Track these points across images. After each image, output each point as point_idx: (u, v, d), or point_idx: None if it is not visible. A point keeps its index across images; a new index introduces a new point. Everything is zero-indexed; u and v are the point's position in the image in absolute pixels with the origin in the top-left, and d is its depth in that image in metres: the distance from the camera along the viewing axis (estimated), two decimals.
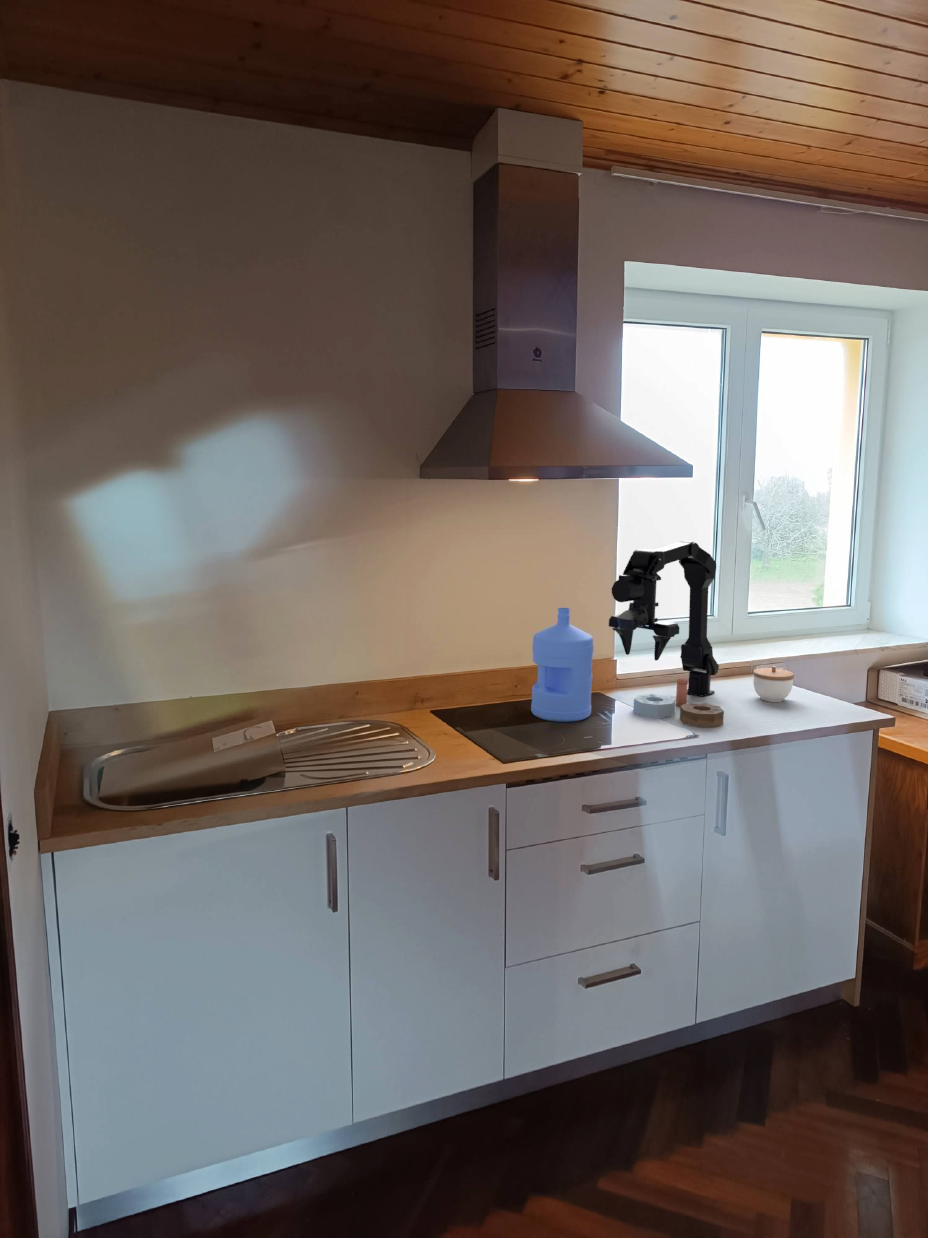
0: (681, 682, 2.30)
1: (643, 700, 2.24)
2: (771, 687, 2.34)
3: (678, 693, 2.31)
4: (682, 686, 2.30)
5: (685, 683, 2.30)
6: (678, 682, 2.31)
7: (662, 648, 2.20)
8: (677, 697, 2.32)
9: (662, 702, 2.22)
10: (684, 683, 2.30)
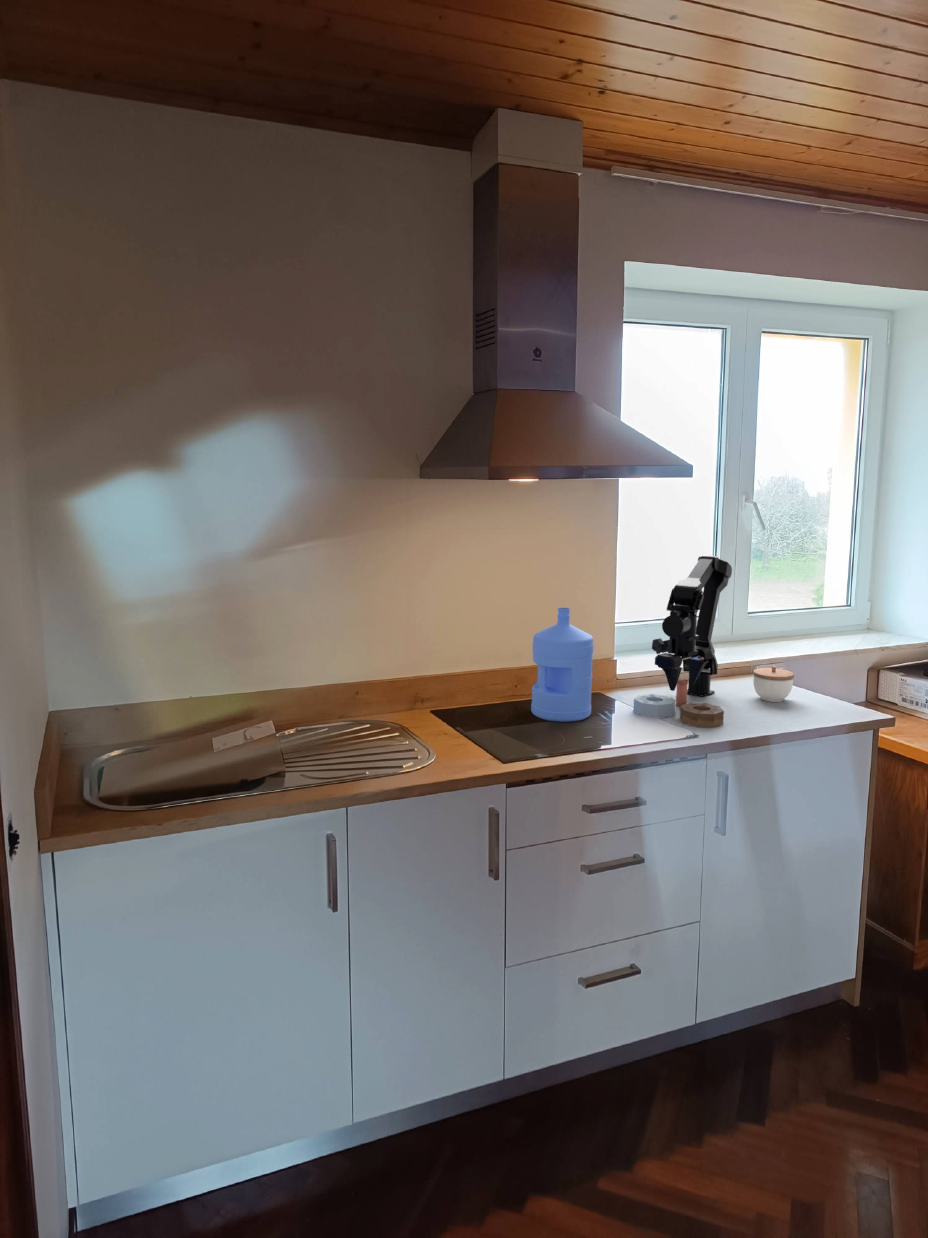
0: (681, 682, 2.30)
1: (643, 700, 2.24)
2: (771, 687, 2.34)
3: (678, 693, 2.31)
4: (682, 686, 2.30)
5: (685, 683, 2.30)
6: (678, 682, 2.31)
7: (673, 680, 2.27)
8: (677, 697, 2.32)
9: (662, 702, 2.22)
10: (684, 683, 2.30)
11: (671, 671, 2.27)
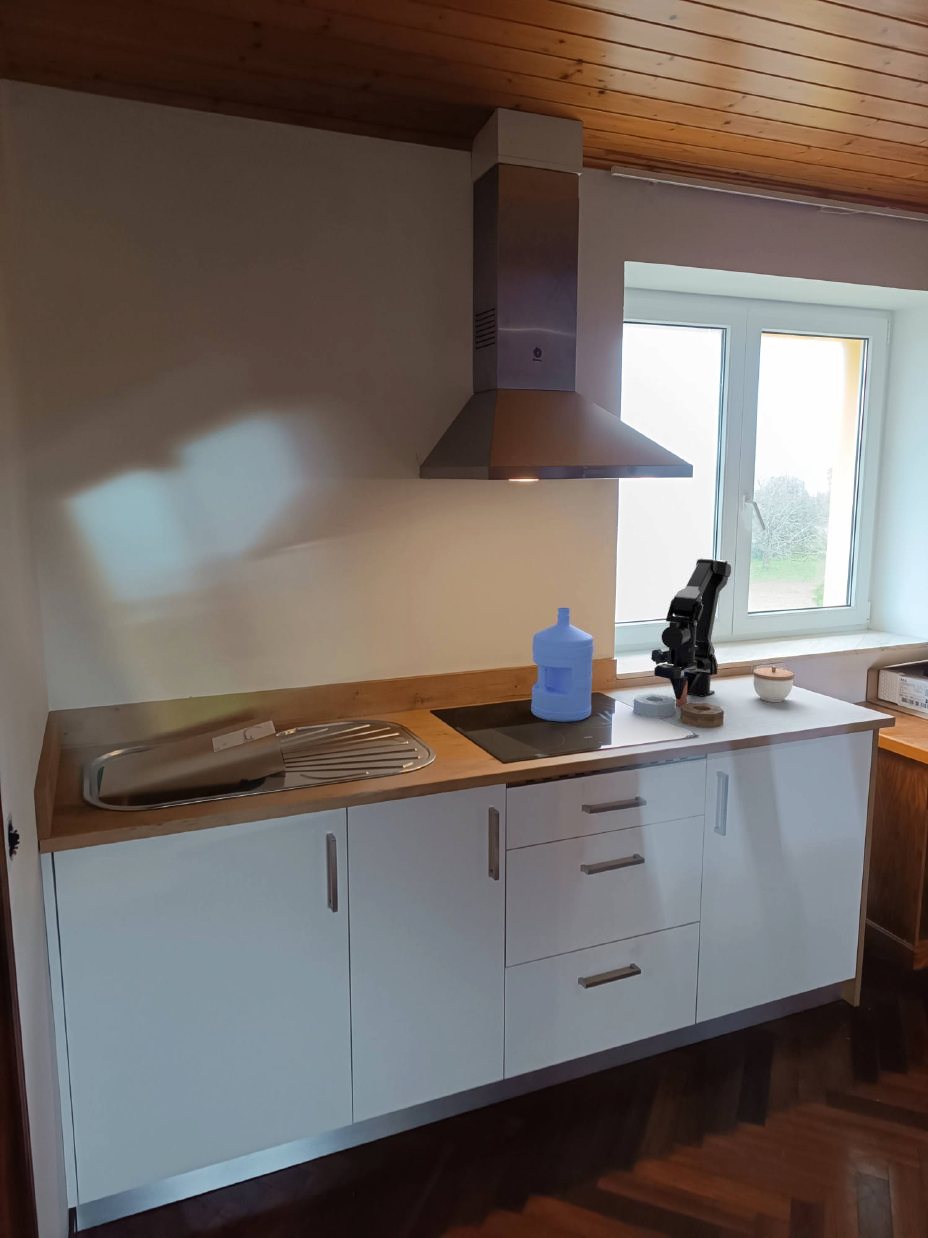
0: None
1: (643, 700, 2.24)
2: (771, 687, 2.34)
3: None
4: None
5: None
6: None
7: (678, 689, 2.29)
8: None
9: (662, 702, 2.22)
10: None
11: (677, 680, 2.29)
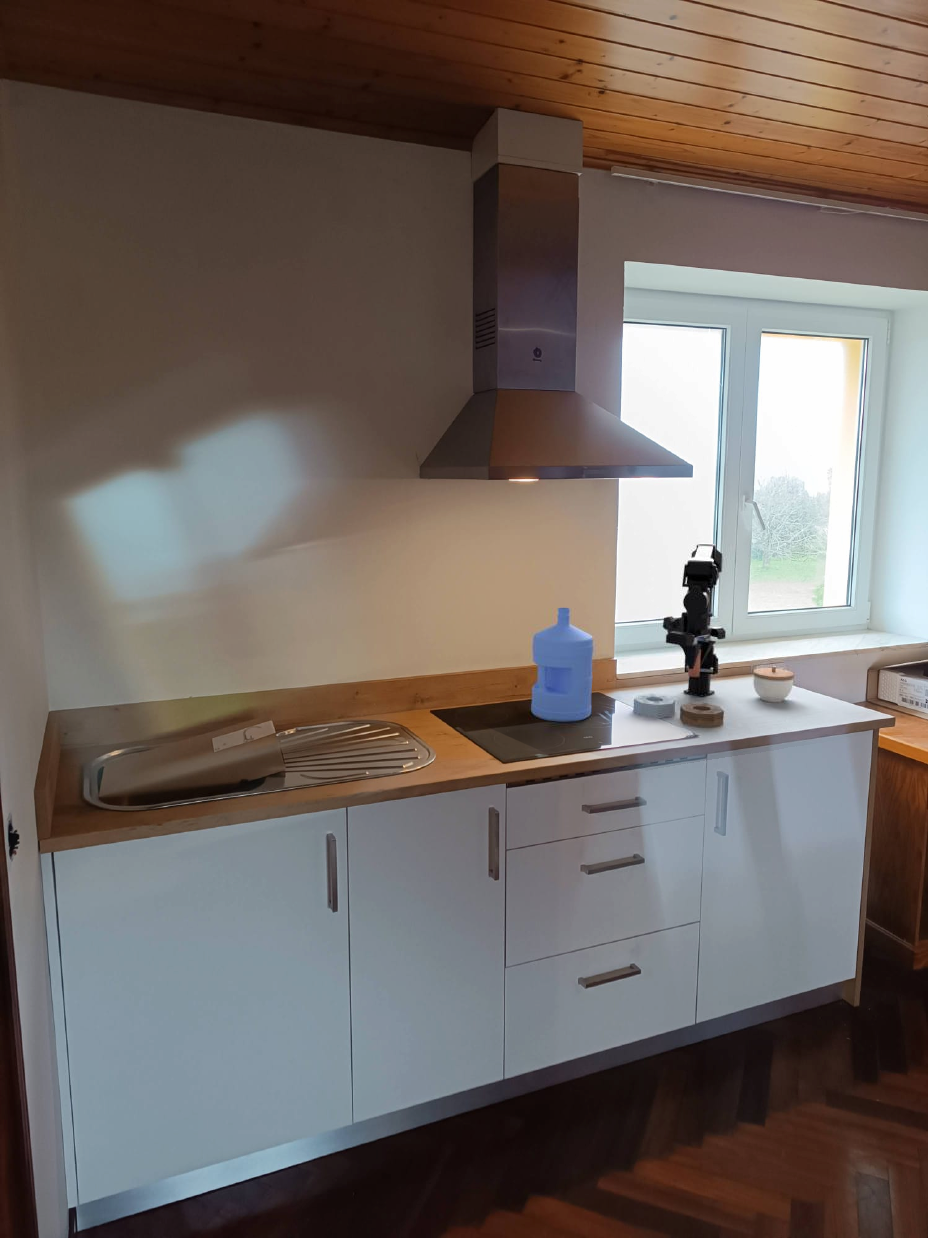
0: None
1: (643, 700, 2.24)
2: (771, 687, 2.34)
3: None
4: None
5: None
6: None
7: (691, 657, 2.19)
8: None
9: (662, 702, 2.22)
10: None
11: (690, 648, 2.19)
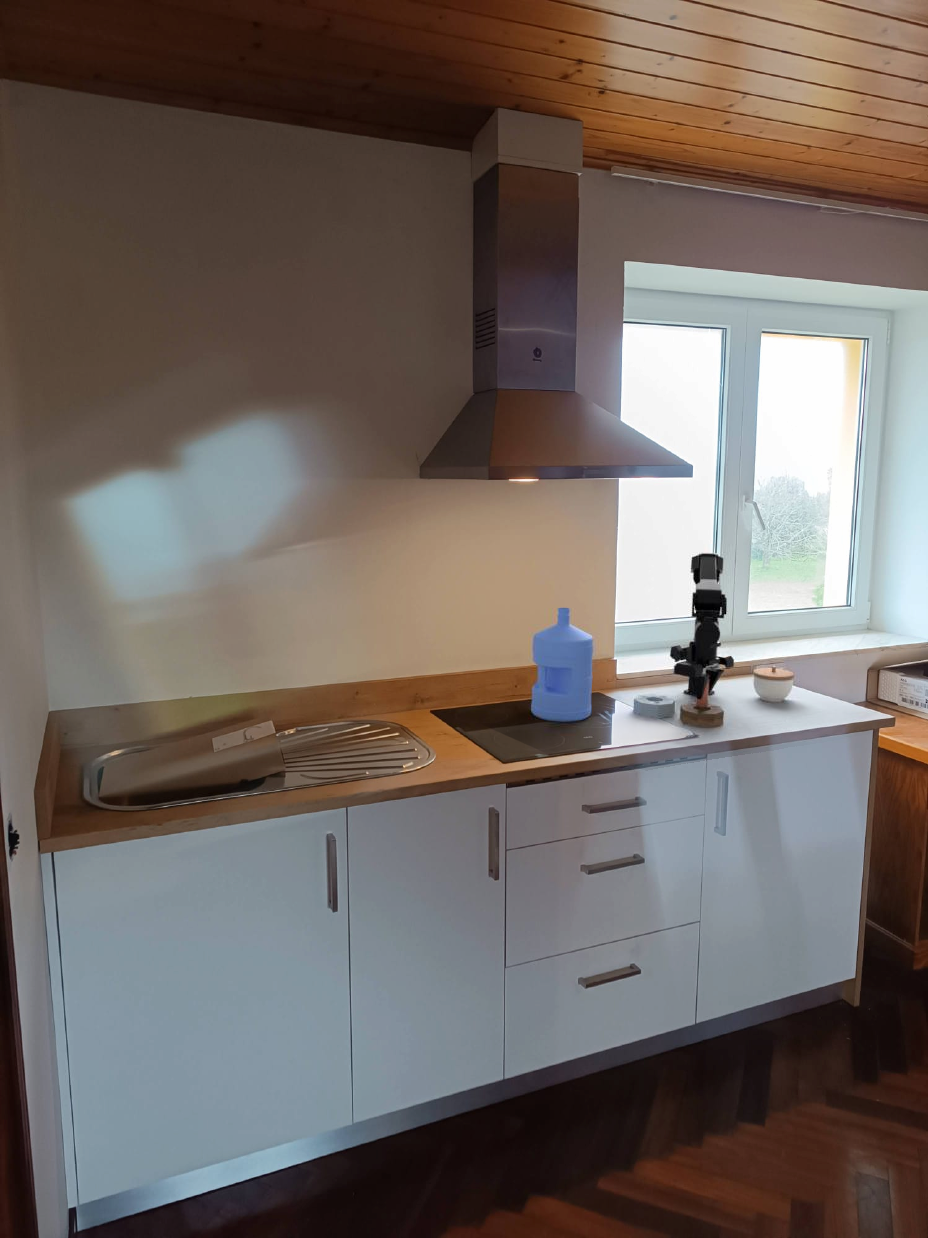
0: None
1: (643, 700, 2.24)
2: (771, 687, 2.34)
3: None
4: None
5: None
6: None
7: (700, 688, 2.14)
8: None
9: (662, 702, 2.22)
10: None
11: (698, 678, 2.14)
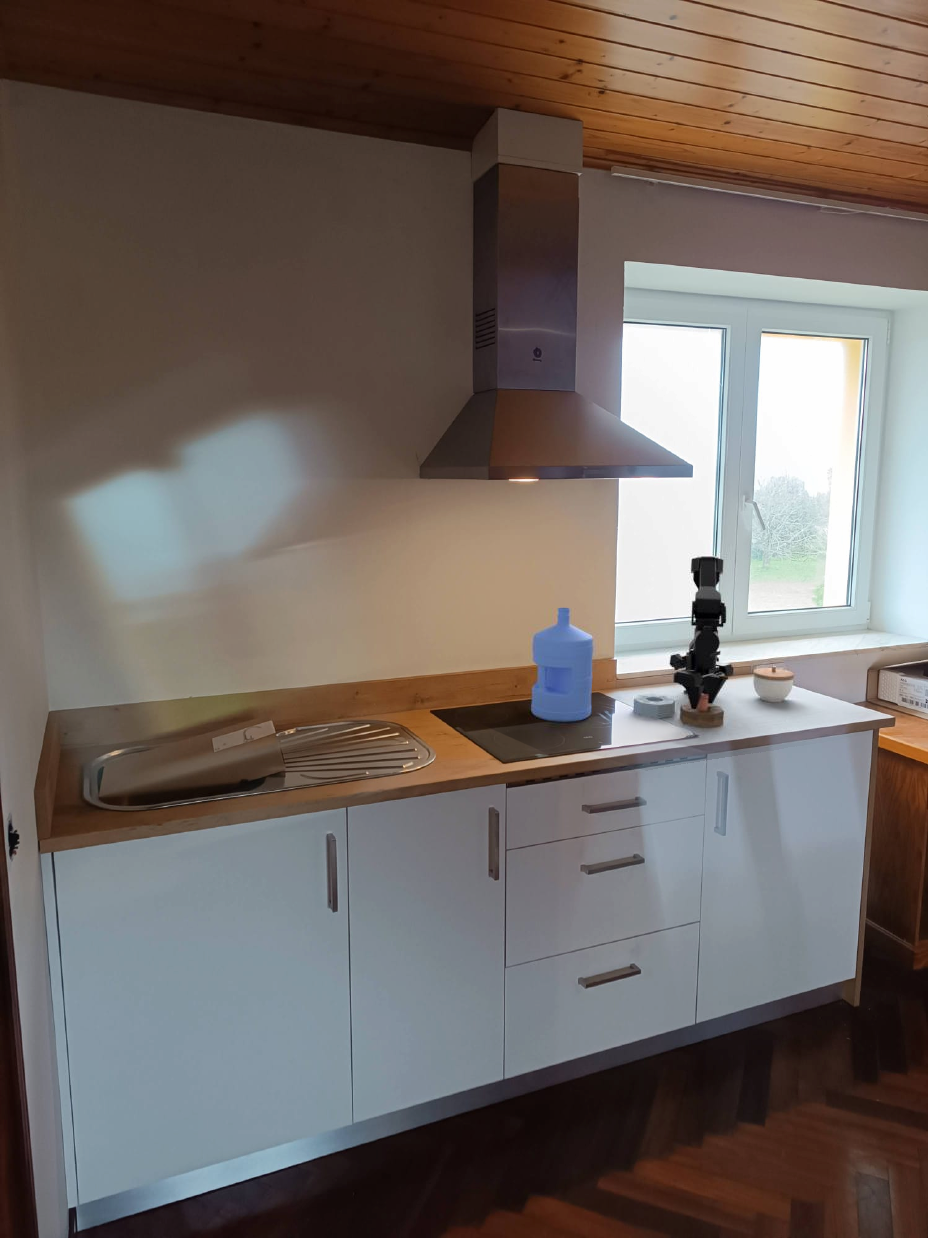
0: (701, 697, 2.16)
1: (643, 700, 2.24)
2: (771, 687, 2.34)
3: (698, 708, 2.17)
4: (702, 701, 2.16)
5: (706, 698, 2.16)
6: None
7: (694, 698, 2.13)
8: None
9: (662, 702, 2.22)
10: (705, 698, 2.16)
11: (693, 688, 2.13)
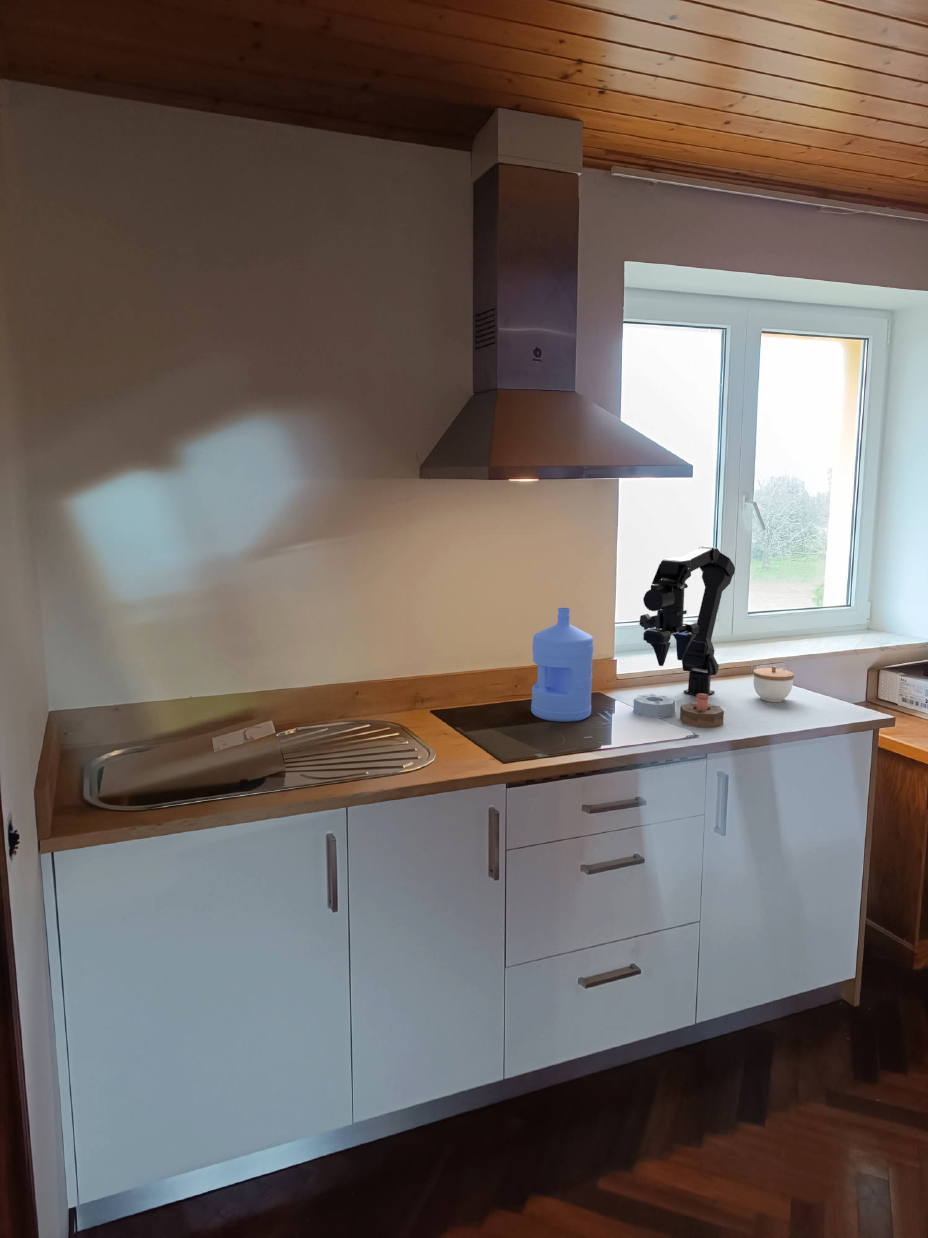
0: (701, 697, 2.16)
1: (643, 700, 2.24)
2: (771, 687, 2.34)
3: (698, 708, 2.17)
4: (703, 701, 2.16)
5: (706, 698, 2.16)
6: (698, 697, 2.16)
7: (661, 655, 2.26)
8: None
9: (662, 702, 2.22)
10: (705, 698, 2.16)
11: (660, 646, 2.26)
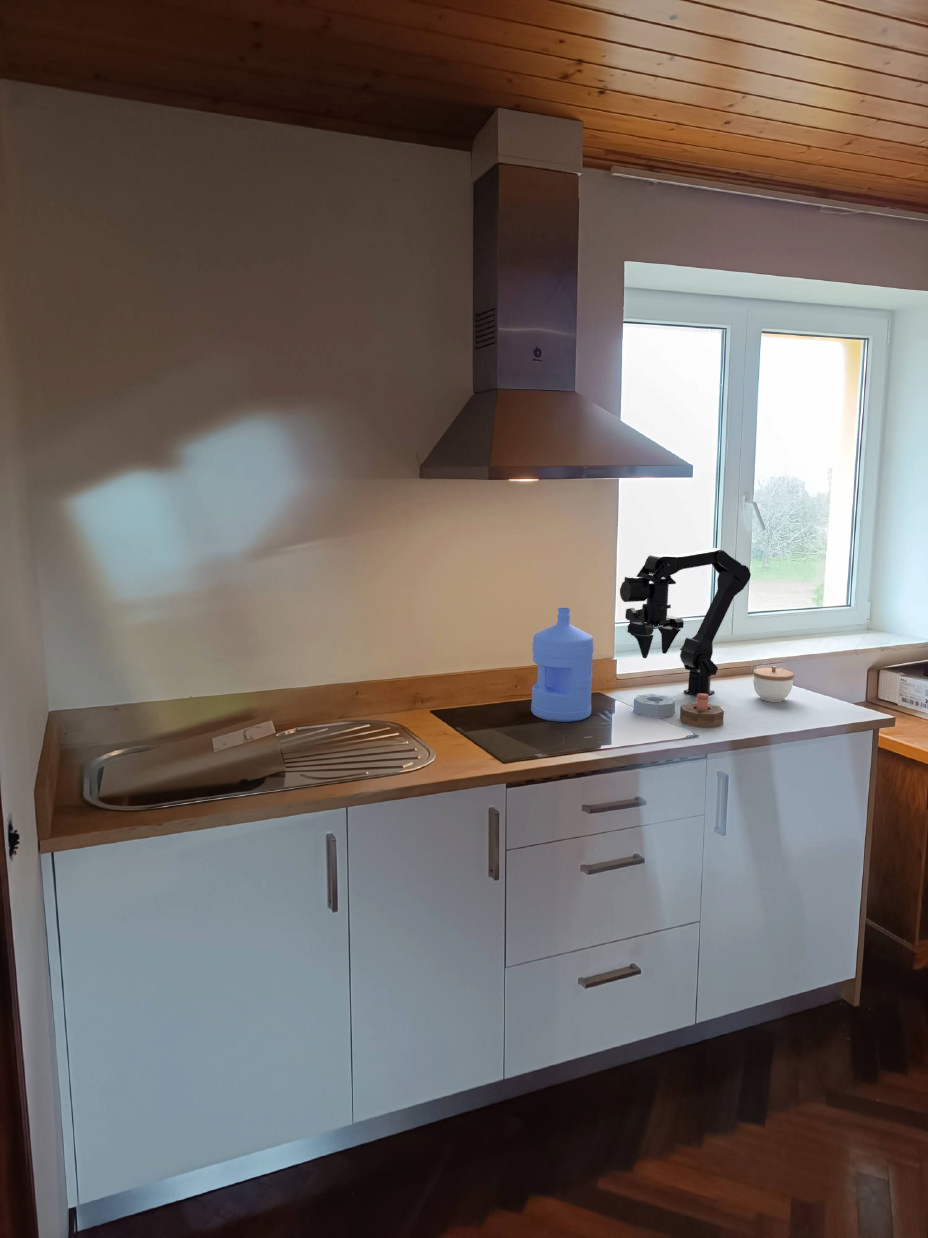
0: (702, 697, 2.16)
1: (643, 700, 2.24)
2: (771, 687, 2.34)
3: (698, 708, 2.17)
4: (703, 701, 2.16)
5: (706, 698, 2.16)
6: (698, 697, 2.16)
7: (645, 647, 2.34)
8: None
9: (662, 702, 2.22)
10: (705, 698, 2.15)
11: (643, 639, 2.34)
